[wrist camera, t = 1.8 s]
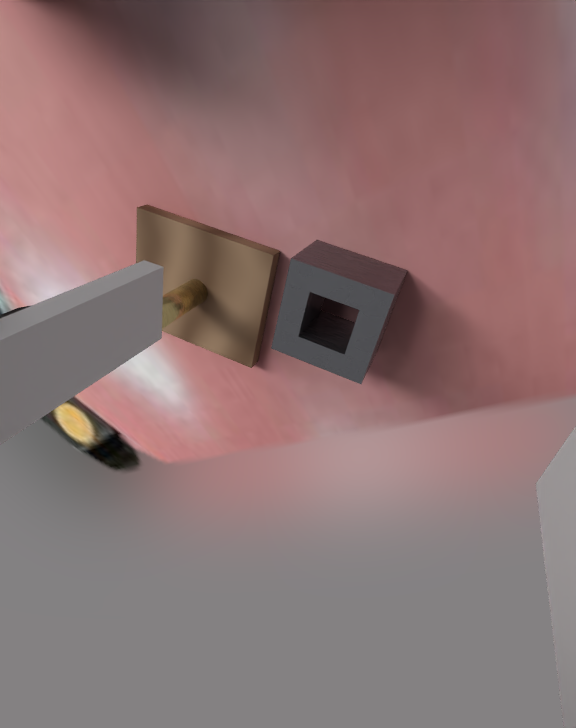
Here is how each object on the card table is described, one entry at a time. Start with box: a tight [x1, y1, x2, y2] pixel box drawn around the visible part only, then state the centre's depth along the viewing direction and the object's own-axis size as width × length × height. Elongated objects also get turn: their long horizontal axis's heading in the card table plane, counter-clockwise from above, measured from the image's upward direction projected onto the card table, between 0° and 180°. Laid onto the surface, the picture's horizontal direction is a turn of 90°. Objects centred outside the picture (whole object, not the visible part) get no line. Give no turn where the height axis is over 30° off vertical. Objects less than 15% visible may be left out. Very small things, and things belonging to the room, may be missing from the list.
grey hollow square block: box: [271, 240, 407, 384], centre depth 37 cm, size 8×8×6 cm
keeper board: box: [136, 205, 280, 368], centre depth 44 cm, size 14×12×2 cm
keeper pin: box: [162, 279, 208, 329], centre depth 40 cm, size 2×2×7 cm
